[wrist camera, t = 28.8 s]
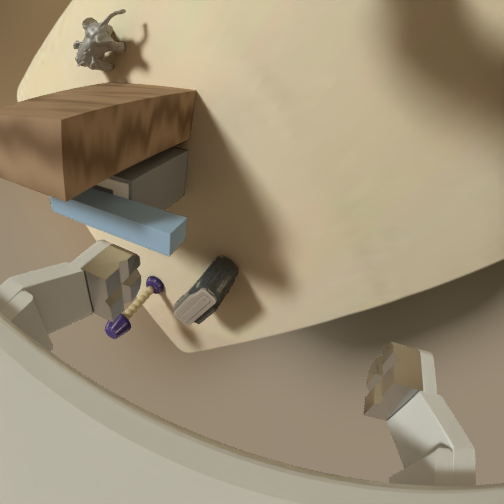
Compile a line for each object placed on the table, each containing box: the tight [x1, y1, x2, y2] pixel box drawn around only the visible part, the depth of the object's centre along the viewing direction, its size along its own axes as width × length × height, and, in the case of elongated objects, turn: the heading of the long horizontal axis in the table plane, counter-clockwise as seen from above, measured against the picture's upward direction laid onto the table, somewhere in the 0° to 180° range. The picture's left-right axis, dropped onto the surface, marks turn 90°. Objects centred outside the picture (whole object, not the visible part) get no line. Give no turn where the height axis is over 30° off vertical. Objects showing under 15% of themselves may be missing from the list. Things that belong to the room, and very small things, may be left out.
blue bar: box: [50, 188, 187, 256], centre depth 36 cm, size 3×20×4 cm, turn 79°
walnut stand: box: [0, 83, 196, 202], centre depth 35 cm, size 8×18×26 cm, turn 79°
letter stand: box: [49, 147, 188, 210], centre depth 45 cm, size 8×18×15 cm, turn 79°
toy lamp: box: [105, 276, 164, 339], centre depth 59 cm, size 5×5×17 cm
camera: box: [174, 256, 238, 326], centre depth 55 cm, size 11×6×10 cm, turn 139°
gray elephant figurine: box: [73, 9, 126, 71], centre depth 37 cm, size 9×12×8 cm
